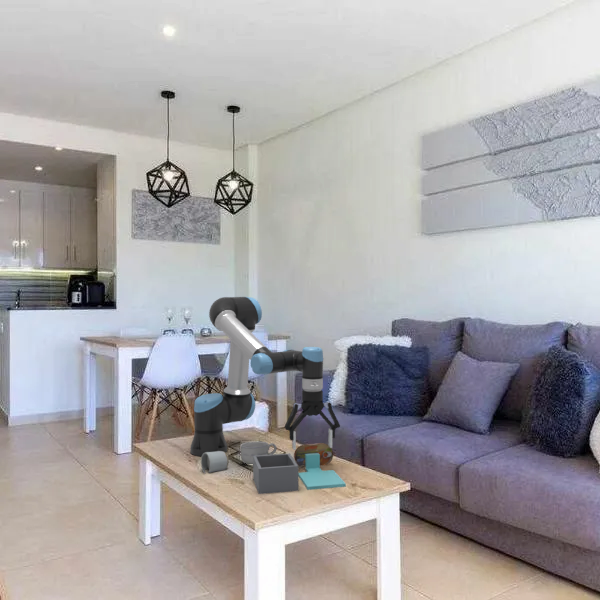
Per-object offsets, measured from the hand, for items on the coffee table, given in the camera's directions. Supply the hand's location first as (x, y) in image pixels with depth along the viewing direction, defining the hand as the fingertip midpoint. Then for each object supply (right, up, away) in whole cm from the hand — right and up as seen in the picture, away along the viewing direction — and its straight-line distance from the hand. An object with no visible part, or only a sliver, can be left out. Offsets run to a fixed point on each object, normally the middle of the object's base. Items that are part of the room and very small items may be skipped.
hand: (312, 447), depth 200 cm
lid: (+2, -9, -9) cm, 13 cm away
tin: (+1, -9, +8) cm, 12 cm away
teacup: (-20, -9, +11) cm, 25 cm away
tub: (-13, -9, -16) cm, 22 cm away
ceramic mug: (-37, -10, +3) cm, 38 cm away
